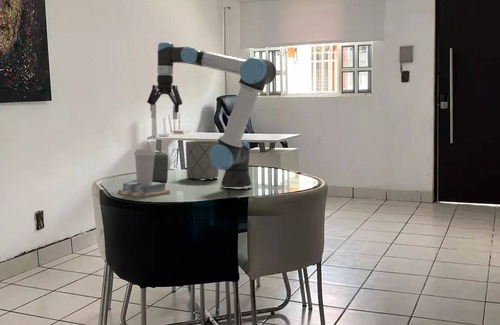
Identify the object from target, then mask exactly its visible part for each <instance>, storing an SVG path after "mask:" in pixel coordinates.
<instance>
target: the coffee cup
mask: <svg viewBox="0 0 500 325" xmlns="http://www.w3.org/2000/svg"><path fill="white" fill-rule="evenodd" d="M154 150H155V149H149V148H148V149H147V148H146V149H145V148H137V149H135V152H134V153H133V155H134V159H135V160H134V161H135V172H136V173H135V174H136V182H137V184H152V177H153V167H154V158H155V155H156V153H155V152H154Z"/></svg>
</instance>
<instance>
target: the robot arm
mask: <svg viewBox="0 0 500 325" xmlns="http://www.w3.org/2000/svg"><path fill="white" fill-rule="evenodd" d="M177 63H178V64H189V65H193V66H199V67H204V68H208V69H214V70H217V71H222V72H226V73H229V74H235V75H238V76H240V78H239V81H238V83H239V86H240V88H239V90H238V93H237V97H236V100H235V102H234V105H233V107H232V110H231V113H230V116H229V119H228V121H227V124H226V128H225V130H224V132H223V135H221V136H219V137H218V139H217V141H216V142H217V145H215V146H214V147H213V148H212V149H211V151H210V155H209V157H210V161H211V163H212V165H213V166H214V167H216V168H218V169H219V170H223V171H224V175H223V176H222V180H221V183H220V187H221V186H223V187H244V186H249V185H251V184H252V180H251V176H250V173H249V172H250V171H249V170H250V155H251V154H250V151H251V148H250V143H249V141H248V142H247V141H242V138H243V137H244V133H245V131H246V127H247V126H248V123H249V120H250V117H251V115H252V113H253V112H252V111H253V110H254V107H255V104H256V101H257V98H258V95H259V94H260V93H262V92H263V91H264V89H265V87H266V85H269V84H270V83H272V82H273V81H274V80H275V78H276V76H277V68H276V66H275V64H274V62H272V61H270V60H268V59H264V58H261V57H258V56H257V57H255V56H254V57H248V58H246V59H243V58H237V57H233V56H230V55H229V56H228V55H224V54H219V53H214V52H210V51H205V50H200V49H196V48H195V47H193V46H192V47H191V46H174V44H173V43H172V42H159V43H158V45H157V71H156V72H157V74H158V75H157V77H156V81H157V84H152V85H151V86H152V87H151V88H152V89H151V91H150V94H149V95H148V98H147V101H146V103H147V104H149V105H150V115H151V116H150V118H151V119H156V118H157V104H156V103H157V102H158V100H159V99H160V97H162V95H167V96H168V97H169V99H170V100H171V102H172V104H173V105H172V120H178V113H179V111H180V110H179V109H180V108H179V106H181V105H183V100H182V98H181V95H180V92H179V90H178V89H179V88H178V85H177V84H173V82H174V77H173V74H174V64H177ZM252 185H253V184H252Z"/></svg>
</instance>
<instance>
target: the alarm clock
mask: <svg viewBox="0 0 500 325" xmlns="http://www.w3.org/2000/svg"><path fill="white" fill-rule="evenodd" d="M153 150H154V152H155V153H156V155H155V158H154V167H153V177H152V182H157V183H166V182H168V170H169V156H168V154H167V153H166V152H164V151H159V150H157V149H153Z"/></svg>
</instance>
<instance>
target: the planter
mask: <svg viewBox="0 0 500 325" xmlns="http://www.w3.org/2000/svg"><path fill="white" fill-rule="evenodd" d="M217 142H218V141H206V140H205V141H203V140H195V141H194V140H192V141H190V140H189V141H185V160H186V162H185V164H186V177H189V178H188V179H193V178H194V179H195V180H200V179H210V178H215V177H218V178H219V172H220V169H218V168H216V167H214V166H213V165H212V163H211V161H210V157H209V155H210V151H211V149H212V148H213V147H214V146H215V145H217ZM194 179H193V180H194ZM210 180H211V179H210Z"/></svg>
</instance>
